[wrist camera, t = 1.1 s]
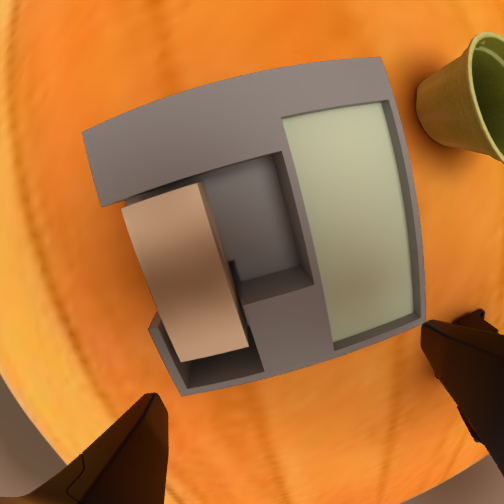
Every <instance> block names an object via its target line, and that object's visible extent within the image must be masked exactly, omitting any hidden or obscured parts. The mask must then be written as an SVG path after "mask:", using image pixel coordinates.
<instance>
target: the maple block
mask: <svg viewBox="0 0 504 504" xmlns="http://www.w3.org/2000/svg"><path fill="white" fill-rule="evenodd" d="M121 211H122V214H123V217H124V220H125V224H126V227H127V230H128V233H129V236H130V238H131V241H132V244H133V247H134V250H135V253H136V256H137V258H138V261H139V264H140V267H141V269H142V272H143V275H144V277H145V280H146V282H147V285H148V288H149V290H150V293H151V295H152V298H153V300H154V303H155V305H156V307H157V310H158V312H159V315H160V317H161V319H162V322H163V324H164V326H165V329H166V331H167V333H168V335H169V338H170V340H171V342H172V344H173V346H174V349H175V351H176V353H177V355H178V357H179V359H180V362H185V361H190V360H195V359H199V358H204V357H208V356H212V355H217V354H221V353H225V352H229V351H233V350H237V349H241V348H245V347H249V343H248V334H247V325H246V317H245V314H244V311H243V308H242V305H241V302H240V298H239V295H238V292H237V289H236V286H235V283H234V279H233V276H232V273H231V270H230V267H229V263H228V260H227V257H226V254H225V250H224V247H223V244H222V241H221V237H220V234H219V231H218V227H217V224H216V221H215V217H214V214H213V211H212V207H211V204H210V201H209V197H208V194H207V190H206V187H205V184H204V181H202V182H198V183H195V184H192V185H189V186H185V187H182V188H179V189H176V190H173V191H170V192H167V193H164V194H161V195H158V196H155V197H152V198H149V199H146V200H143V201H141V202H138V203H135V204H132V205H129V206H127V207H124V208H121Z"/></svg>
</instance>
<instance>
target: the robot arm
mask: <svg viewBox="0 0 504 504" xmlns="http://www.w3.org/2000/svg"><path fill="white" fill-rule="evenodd" d="M484 315H485V311H484V310H482V309H479V310H478V311H476V312H474V313H472V314H470V315H468V316H467V317H465V318H463V319H461V320H459V321H457V322H455V323H453V324H450V323H446V322H442V321H437V320H430V321H427V322H425V323H423V324H422V327H421V348H422V350H423V352H424V354H425V355H426V357H427V359H428V360H429V362H430V364H431V366H432V367H433V369H434V371H435V377H436V378H437V379H439V380H440V381H441V383H442V384H443V385H444V387H445V388H446V390H447V391H448V392H449V394H450V395H451V397H452V398H453V399H454V401H455V402H456V404H457V405H458V406H457V408H458V410H459V412H460V415H461V417H462V419H463V421H464V422H465V424H466V426H467V428H468V430H469V432H470V434H471V436H472V437H473V438H474V441H475V442H477V443H478V442H480V443H482V444H483V445H485V447H486V448H487V450H488V452H489V453H490V455H491V456H492V458H493V460H494V461H495V463H496V464H497V466H498V468H499V470H500V471H501V473H502V474H503V476H504V335H501V334H499V333H498V330H497V329H496V328H495V327H493V326H492V325H490V324H489V323H488V322H486V321H485V320H484ZM168 451H169V445H168V412H167V409H166V407H165V406H164V404H163V402H162V400H161V398H160V396H159V395H158V394H157V393H147V394H144V395H143V396H142V397H141V398H140V399H139V400H138V401H137V402H136V403H135V404H134V405H133V406H132V407H131V408H130V409H129V410H127V411H126V412H125V413H124V414H123V415H122V416H121V417H120V418H119V419H118V420H117V421H116V422H115V423H114V424H113V425H112V426H110V427H109V428H108V429H107V430H106V431H105V432H104V433H103V434H102V435H101V436H100V437H99V438H98V439H96V440H95V441H94V442H93V443H92V444H91V445H90V446H89V447H88V448H87V449H86V450H84V451H83V452H82V454H80V455H79V456H78V457H77V458H76V459H75V460H73V461H72V462H71V463H70V464H69V465H68V466H66V467H65V468H64V469H63V470H61V471H60V472H59V473H57V474H56V475H55V476H54V477H52V478H51V479H49V480H48V481H47V482H45V483H44V484H42V485H41V486H40V487H38V488H37V489H35V490H34V491H33V492H31V493H29V494H27V495H25V496H21V497H0V504H164V496H165V485H166V474H167V464H168Z"/></svg>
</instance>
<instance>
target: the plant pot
mask: <svg viewBox="0 0 504 504" xmlns="http://www.w3.org/2000/svg"><path fill="white" fill-rule="evenodd" d="M416 112H417V116H418V119H419V121H420V123H421V125H422V127H423V129H424V130H425V132H426V133H427V134H428V135H429V137H430V138H432V139H433V140H434V141H436V142H438V143H440V144H442V145H444V146H448V147H453V148H459V149H464V150H469V151H473V152H478V153H482V154H486V155H490V156H491V157H493V158H494V159H496V160H498V161H501V162H502V163H503V164H504V38H503V37H501V36H499V35H498V34H495V33H492V32H483V33H480V34H478V35H476V36H475V37H474V38H473V39H472V40H471V42H470V44H469V46H468V48H467V49H466V50H465V51H464V52H463V54H462V55H461V56H460V57H458V58H457V59H455V60H454V61H452V62H451V63H449V64H448V65H446V66H445V67H443V68H442V69H440V70H438V71H437V72H435V73H434V74H432V75H431V76H429V77H428V78H426V79H425V80H423V81H422V82H421V83H420V84H419V86H418V88H417V100H416Z"/></svg>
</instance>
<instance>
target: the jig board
mask: <svg viewBox="0 0 504 504" xmlns="http://www.w3.org/2000/svg"><path fill="white" fill-rule="evenodd" d="M82 135H83V139H84V144H85V148H86V152H87V156H88V160H89V164H90V168H91V172H92V176H93V180H94V183H95V187H96V190H97V194H98V197H99V200H100V204H101V207H104V206H108V205H111V204H114V203H118V202H121V201H125V204H126V207H127V206H129V205H132V204H135V203H138V202H141V201H143V200H146V199H149V198H152V197H155V196H158V195H161V194H164V193H167V192H170V191H173V190H176V189H179V188H182V187H185V186H189V185H192V184H195V183H198V182H202V181H204V184H205V187H206V190H207V194H208V197H209V201H210V204H211V207H212V211H213V214H214V217H215V221H216V224H217V227H218V231H219V234H220V237H221V241H222V244H223V247H224V250H225V254H226V257H227V260H228V263H229V267H230V270H231V273H232V276H233V279H234V283H235V286H236V289H237V292H238V295H239V298H240V302H241V305H242V308H243V311H244V314H245V317H246V325H247V334H248V343H249V347H245V348H241V349H237V350H233V351H229V352H225V353H221V354H217V355H212V356H208V357H204V358H199V359H195V360H190V361H185V362H180V359H179V357H178V355H177V353H176V351H175V349H174V346H173V344H172V342H171V340H170V338H169V335H168V333H167V331H166V329H165V326H164V324H163V322H162V319H161V317H160V315H159V312H158V310H157V312H156V314H155V316H154V318H153V320H152V322H151V324H150V326H149V328H148V331H149V333H150V335H151V337H152V339H153V342H154V344H155V346H156V348H157V350H158V352H159V354H160V356H161V358H162V360H163V362H164V364H165V366H166V368H167V370H168V372H169V374H170V376H171V378H172V380H173V382H174V384H175V385H176V387H177V389H178V391H179V393H180V395H181V396H186V395H192V394H197V393H203V392H208V391H213V390H218V389H223V388H227V387H232V386H236V385H241V384H245V383H249V382H253V381H257V380H261V379H265V378H269V377H273V376H276V375H280V374H284V373H287V372H291V371H294V370H298V369H301V368H304V367H308V366H311V365H314V364H317V363H321V362H324V361H327V360H330V359H333V358H336V357H339V356H342V355H345V354H348V353H350V352H353V351H356V350H359V349H362V348H364V347H367V346H370V345H372V344H375V343H377V342H380V341H383V340H385V339H388V338H390V337H393V336H395V335H398V334H400V333H402V332H405V331H407V330H409V329H412V328H414V327H416V326H419V325H421V324H423V323H425V322H426V294H425V271H424V256H423V244H422V234H421V225H420V217H419V210H418V203H417V196H416V190H415V184H414V178H413V173H412V168H411V163H410V158H409V153H408V148H407V144H406V140H405V136H404V131H403V127H402V124H401V120H400V116H399V112H398V109H397V105H396V102H395V98H394V95H393V92H392V88H391V85H390V82H389V79H388V76H387V73H386V70H385V67H384V64H383V62H382V59H381V57H368V58H352V59H340V60H330V61H322V62H314V63H306V64H299V65H293V66H287V67H281V68H276V69H270V70H265V71H260V72H256V73H251V74H246V75H242V76H238V77H234V78H230V79H226V80H222V81H218V82H214V83H211V84H207V85H204V86H200V87H197V88H193V89H190V90H187V91H184V92H181V93H177V94H174V95H171V96H168V97H166V98H163V99H160V100H157V101H154V102H152V103H149V104H146V105H143V106H141V107H138V108H136V109H133V110H131V111H128V112H126V113H123V114H121V115H119V116H116V117H114V118H112V119H109V120H107V121H105V122H102V123H100V124H98V125H96V126H94V127H92V128H89V129H87V130H85V131H83V132H82Z"/></svg>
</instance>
